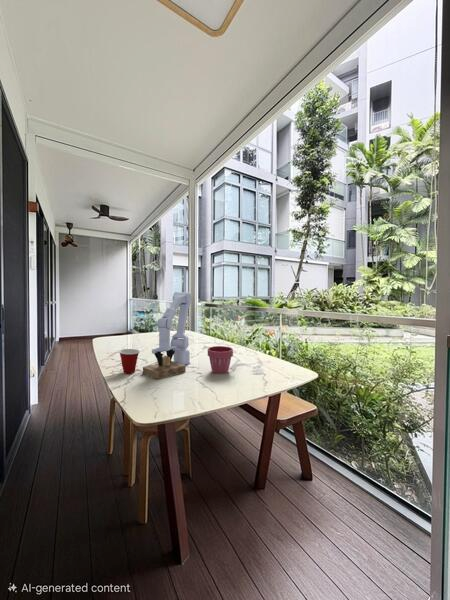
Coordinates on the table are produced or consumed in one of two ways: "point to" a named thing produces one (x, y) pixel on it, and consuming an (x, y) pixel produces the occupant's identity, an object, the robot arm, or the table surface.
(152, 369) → the walnut socket block
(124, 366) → the plastic cup
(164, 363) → the oak peg
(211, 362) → the plant pot
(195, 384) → the table surface
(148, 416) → the table surface
